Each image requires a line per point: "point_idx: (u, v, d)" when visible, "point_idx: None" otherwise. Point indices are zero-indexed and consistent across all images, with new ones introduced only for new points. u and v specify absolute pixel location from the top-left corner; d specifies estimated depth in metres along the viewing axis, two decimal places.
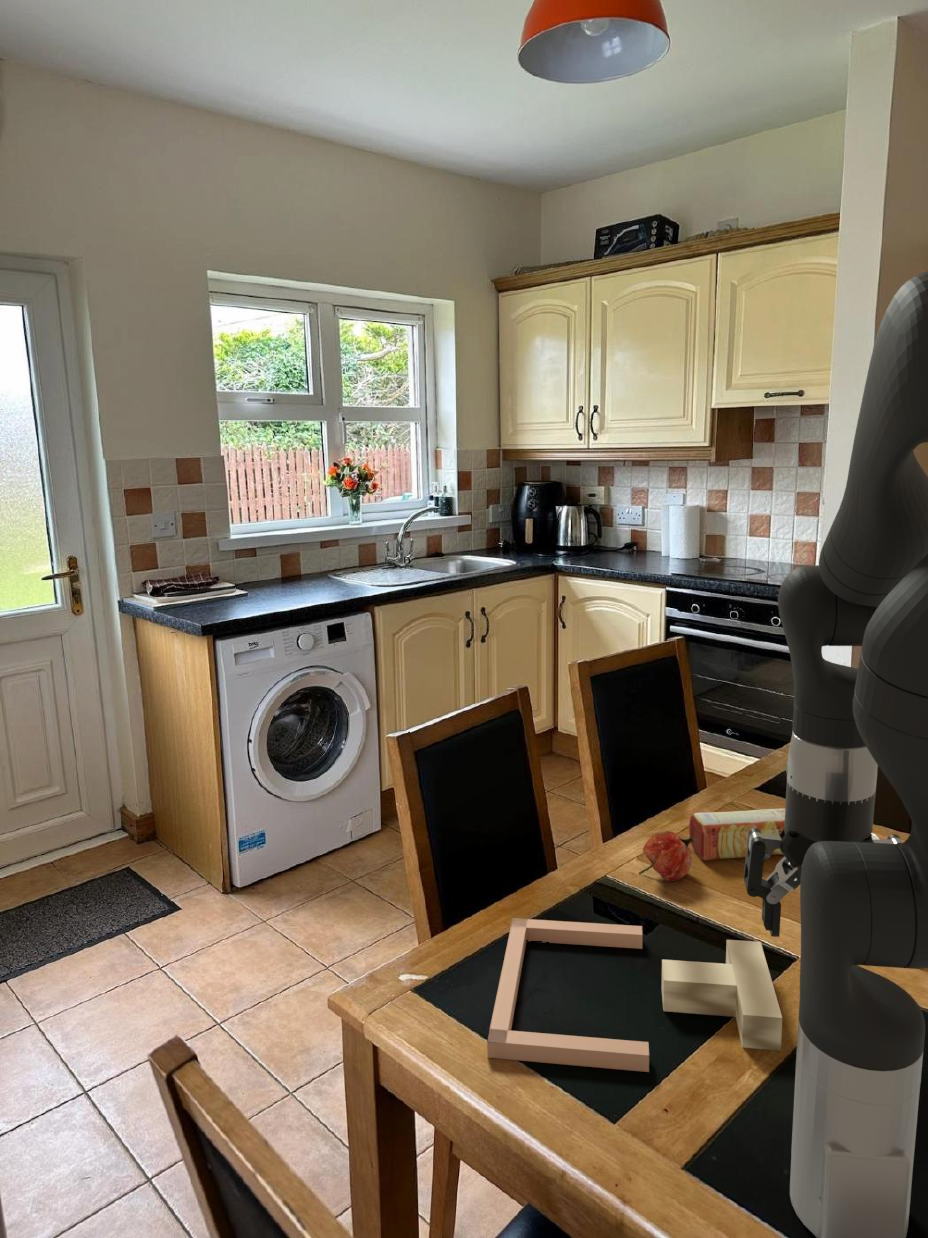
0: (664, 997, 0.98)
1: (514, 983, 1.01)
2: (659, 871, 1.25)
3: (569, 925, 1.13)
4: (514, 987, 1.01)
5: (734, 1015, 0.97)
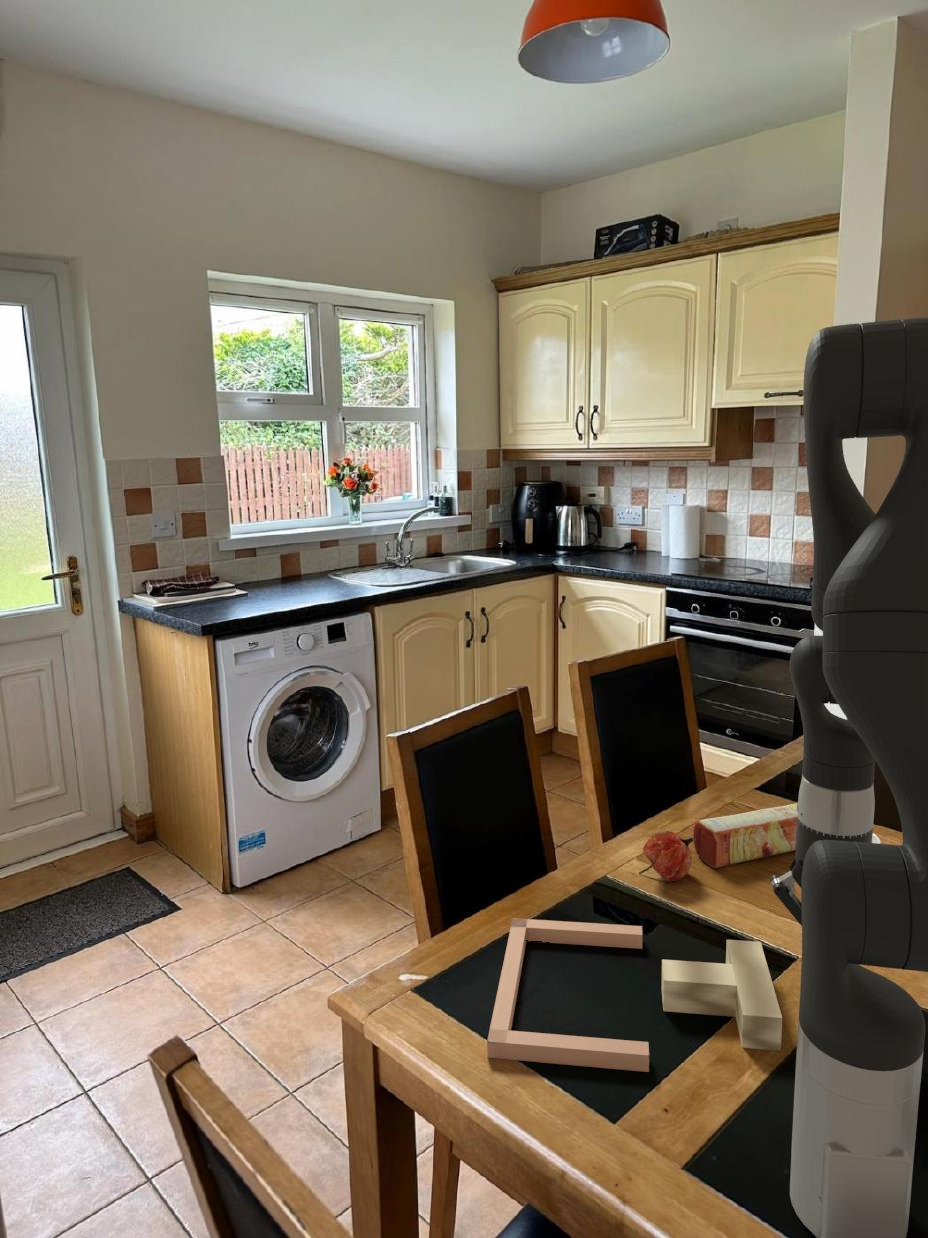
0: (664, 997, 0.98)
1: (514, 983, 1.01)
2: (659, 871, 1.25)
3: (569, 925, 1.13)
4: (514, 987, 1.01)
5: (734, 1015, 0.97)
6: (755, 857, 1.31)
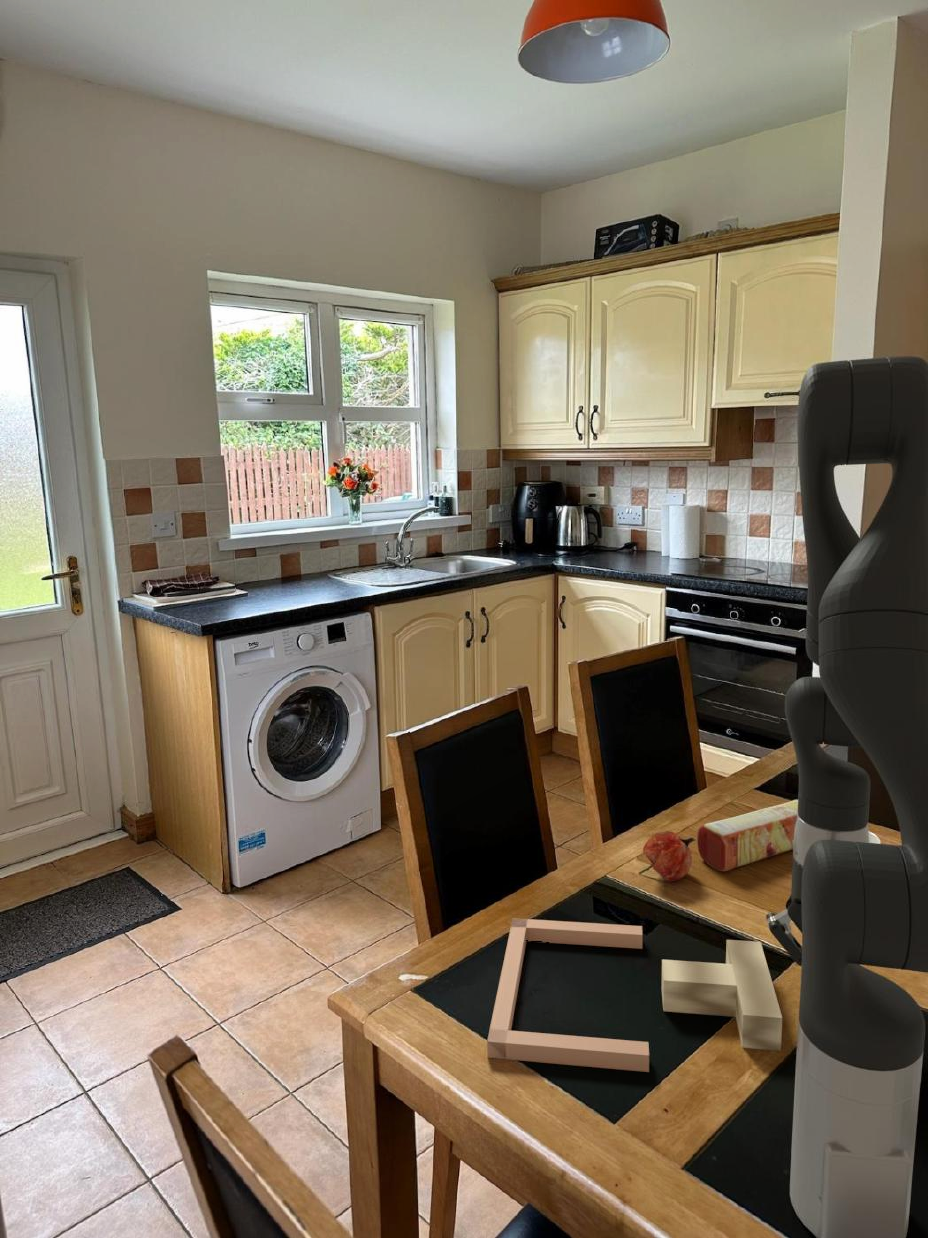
0: (664, 997, 0.98)
1: (514, 983, 1.01)
2: (659, 871, 1.25)
3: (569, 925, 1.13)
4: (514, 987, 1.01)
5: (734, 1015, 0.97)
6: (760, 858, 1.30)
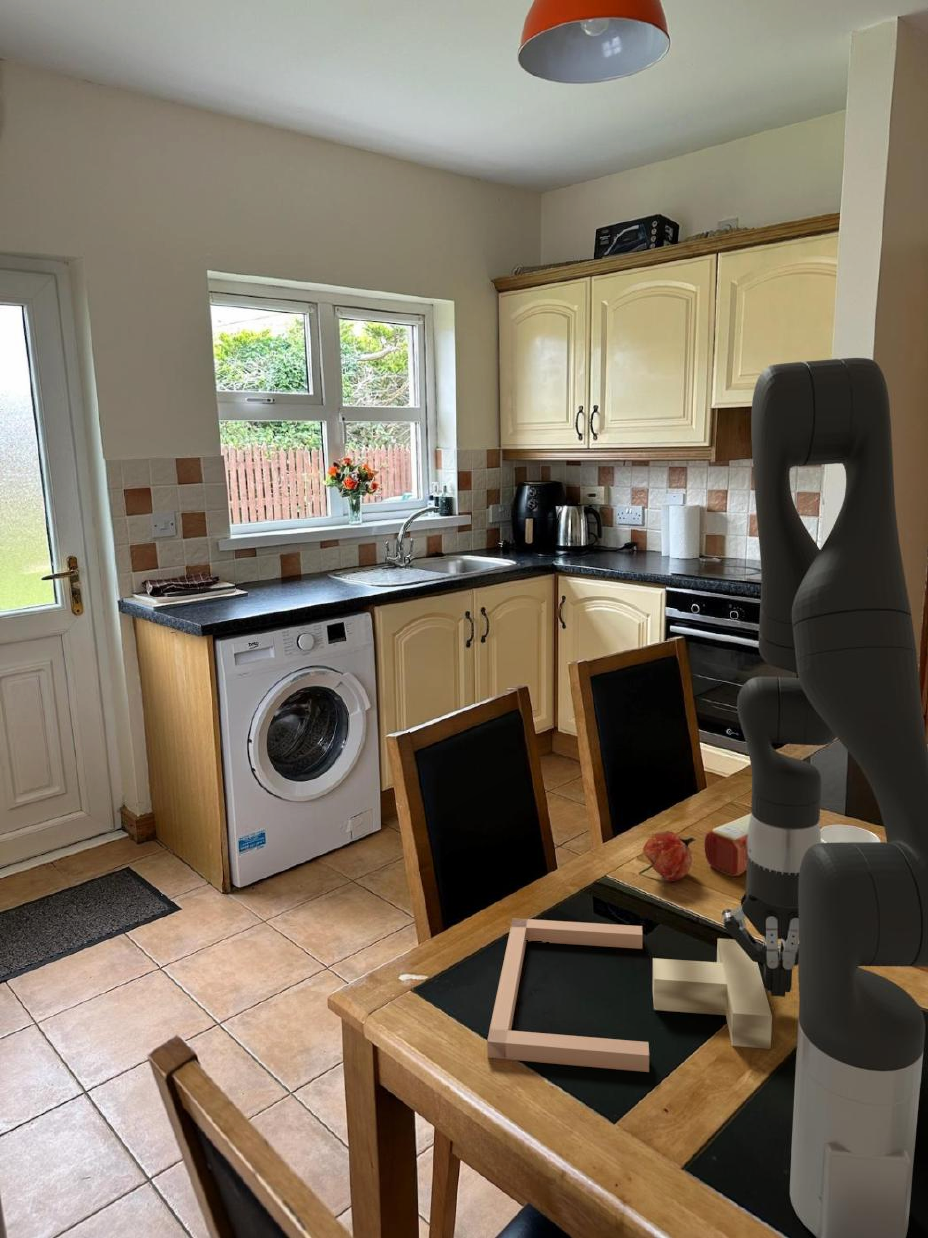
0: (655, 996, 0.98)
1: (514, 983, 1.01)
2: (659, 871, 1.25)
3: (569, 925, 1.13)
4: (514, 987, 1.01)
5: (724, 1014, 0.97)
6: None
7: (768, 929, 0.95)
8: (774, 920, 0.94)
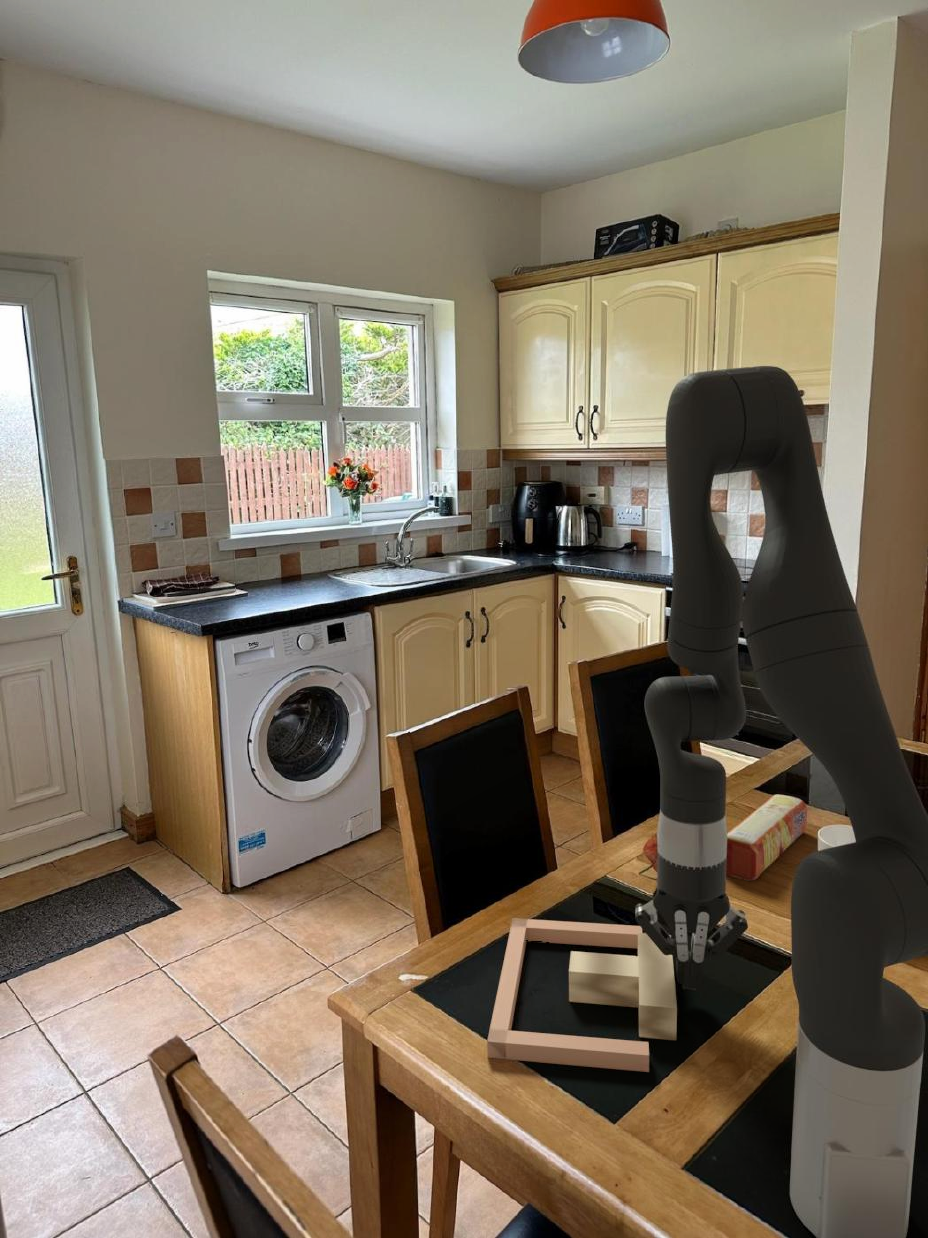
0: (569, 988, 1.00)
1: (514, 983, 1.01)
2: None
3: (569, 925, 1.13)
4: (514, 987, 1.01)
5: (637, 1006, 0.99)
6: (774, 860, 1.30)
7: (677, 923, 0.96)
8: (683, 914, 0.96)
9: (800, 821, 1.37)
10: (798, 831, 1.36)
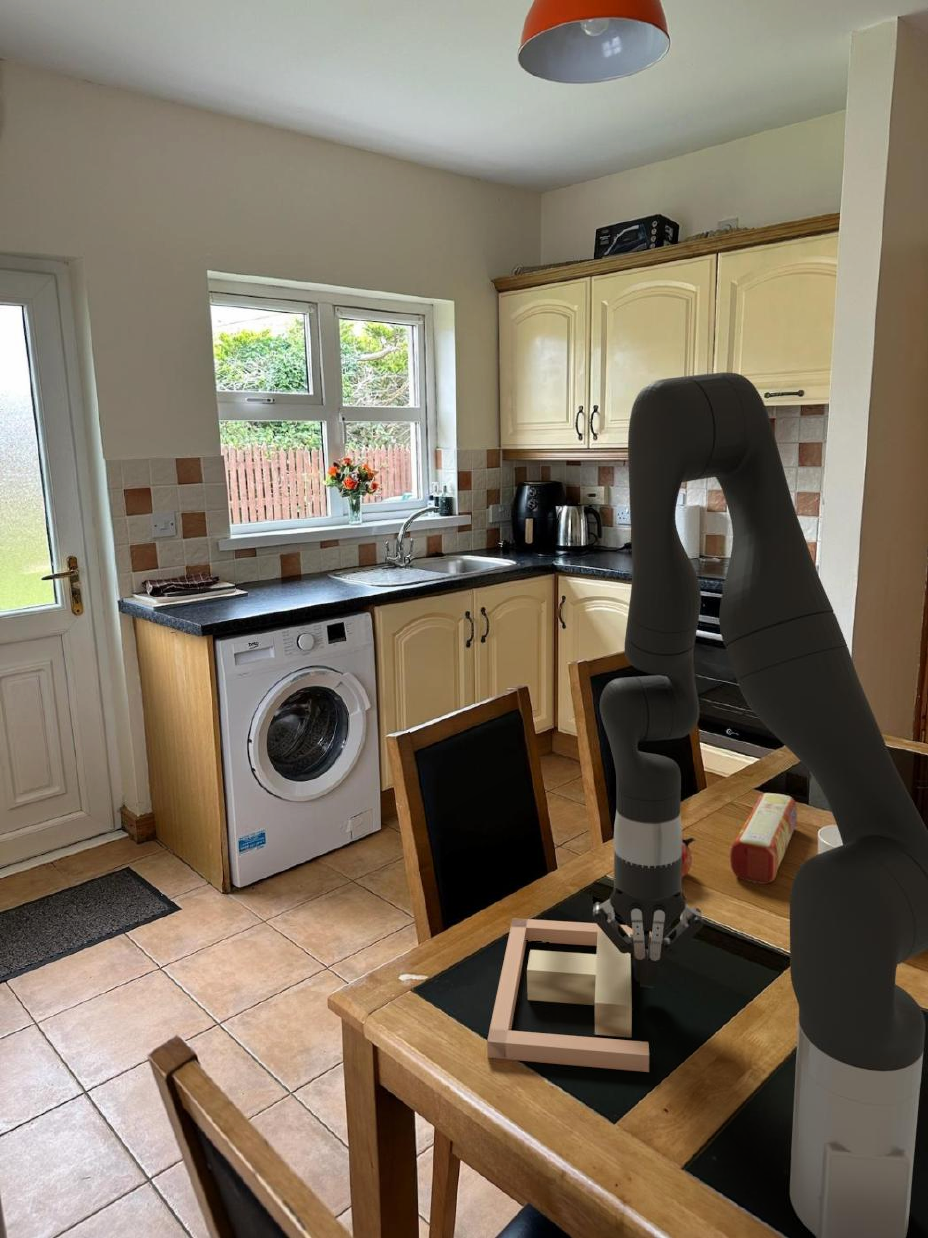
0: (528, 986, 1.01)
1: (514, 983, 1.01)
2: None
3: (569, 925, 1.13)
4: (514, 987, 1.01)
5: (594, 1004, 1.00)
6: (781, 859, 1.30)
7: (634, 921, 0.97)
8: (639, 912, 0.97)
9: (794, 818, 1.38)
10: (793, 828, 1.37)
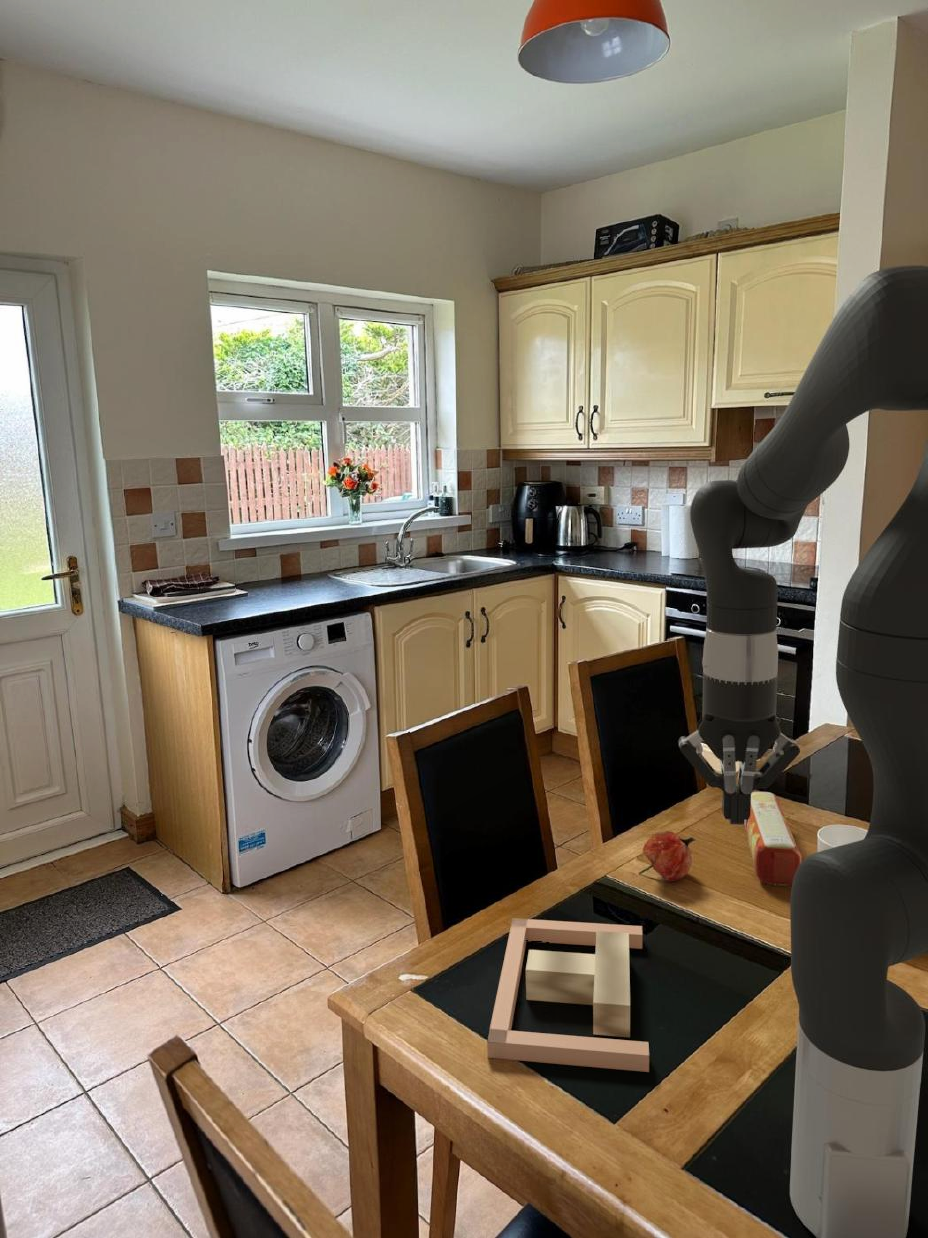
0: (526, 986, 1.01)
1: (514, 983, 1.01)
2: (659, 871, 1.25)
3: (569, 925, 1.13)
4: (514, 987, 1.01)
5: (593, 1003, 1.00)
6: None
7: (725, 749, 0.91)
8: (731, 739, 0.90)
9: None
10: None
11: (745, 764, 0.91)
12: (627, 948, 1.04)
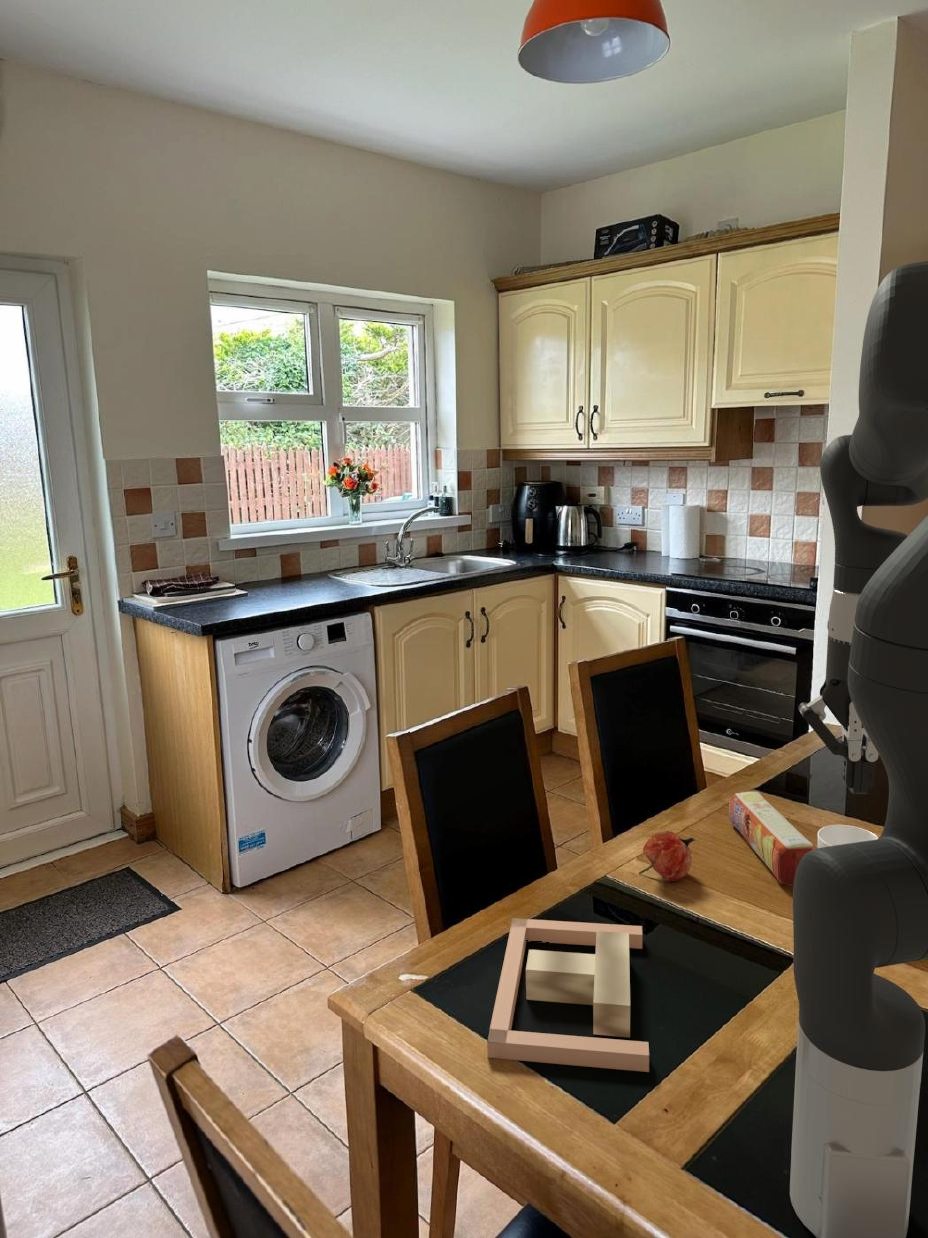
0: (526, 986, 1.01)
1: (514, 983, 1.01)
2: (659, 871, 1.25)
3: (569, 925, 1.13)
4: (514, 987, 1.01)
5: (593, 1003, 1.00)
6: None
7: (851, 715, 0.88)
8: None
9: None
10: None
11: None
12: (627, 948, 1.04)
